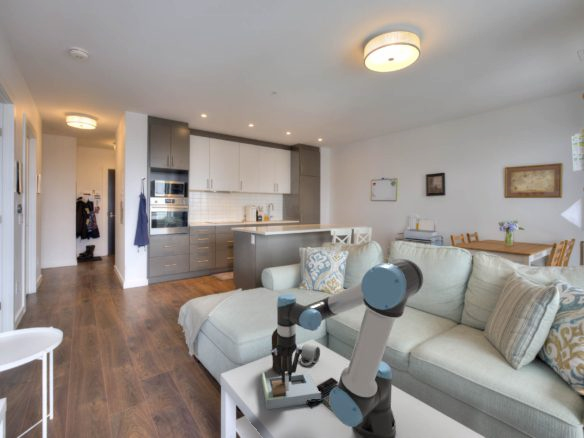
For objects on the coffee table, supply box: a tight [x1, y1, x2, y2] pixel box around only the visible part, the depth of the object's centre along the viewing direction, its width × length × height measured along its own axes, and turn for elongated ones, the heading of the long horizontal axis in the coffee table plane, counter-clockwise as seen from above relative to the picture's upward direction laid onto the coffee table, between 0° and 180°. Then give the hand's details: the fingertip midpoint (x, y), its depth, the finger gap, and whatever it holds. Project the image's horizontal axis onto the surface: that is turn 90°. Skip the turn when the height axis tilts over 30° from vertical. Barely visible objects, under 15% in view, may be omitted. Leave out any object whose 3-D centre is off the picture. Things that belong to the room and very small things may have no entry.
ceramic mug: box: [300, 344, 321, 367], centre depth 144 cm, size 11×8×8 cm
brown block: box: [272, 380, 286, 398], centre depth 115 cm, size 5×5×4 cm
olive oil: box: [271, 328, 294, 375], centre depth 137 cm, size 11×11×25 cm
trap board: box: [261, 371, 322, 411], centre depth 120 cm, size 16×22×6 cm
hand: (286, 388), depth 116 cm, fingers closed
